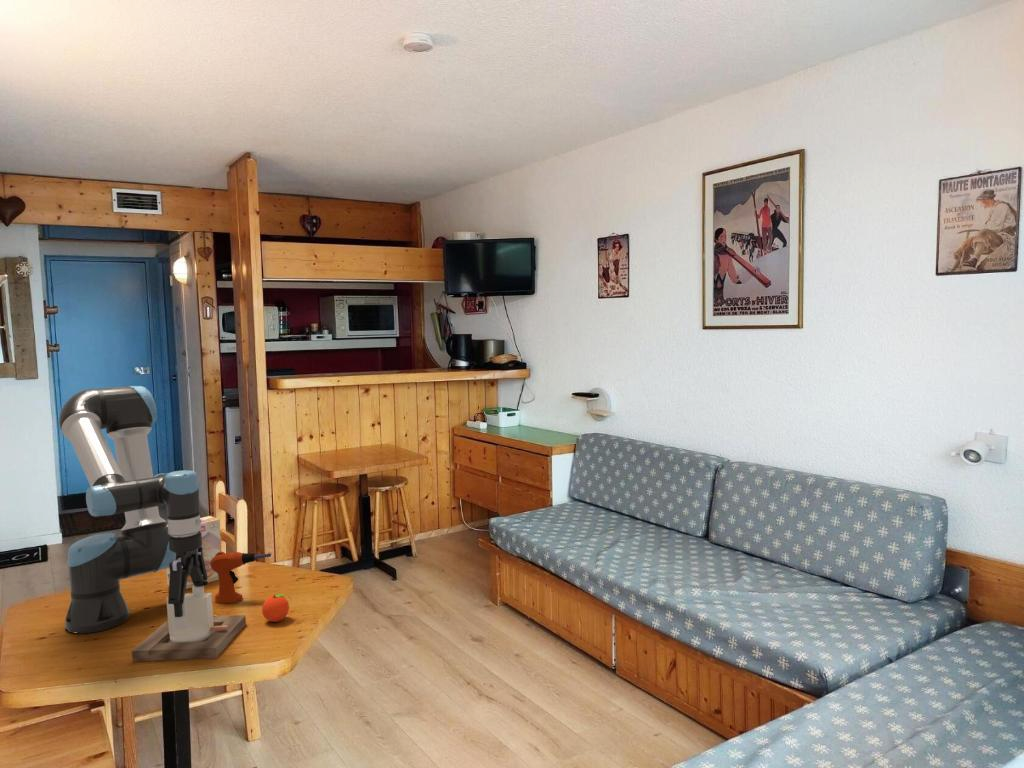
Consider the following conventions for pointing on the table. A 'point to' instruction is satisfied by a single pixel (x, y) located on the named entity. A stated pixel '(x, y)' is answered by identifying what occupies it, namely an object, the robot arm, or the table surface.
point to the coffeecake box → (207, 547)
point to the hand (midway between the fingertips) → (190, 619)
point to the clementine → (275, 608)
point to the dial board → (162, 649)
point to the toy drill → (230, 573)
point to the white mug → (194, 619)
